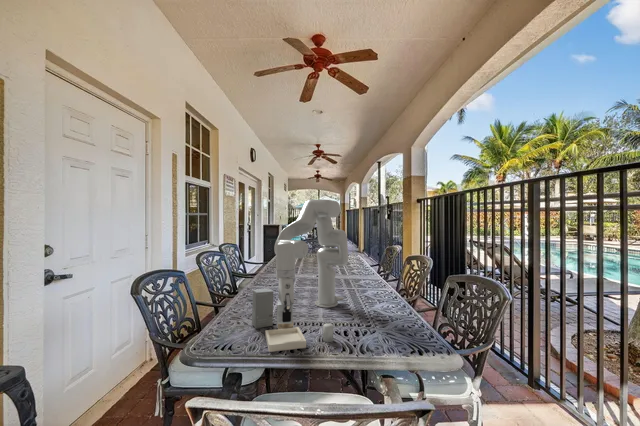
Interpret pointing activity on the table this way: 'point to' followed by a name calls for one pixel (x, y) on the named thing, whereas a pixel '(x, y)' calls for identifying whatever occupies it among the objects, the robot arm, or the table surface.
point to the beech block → (285, 326)
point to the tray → (284, 339)
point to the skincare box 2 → (280, 312)
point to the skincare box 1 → (262, 308)
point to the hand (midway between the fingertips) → (285, 317)
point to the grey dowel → (328, 332)
